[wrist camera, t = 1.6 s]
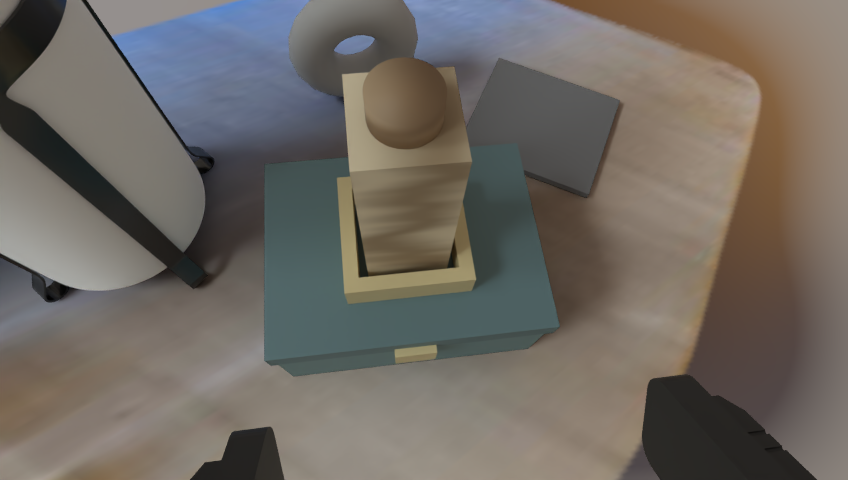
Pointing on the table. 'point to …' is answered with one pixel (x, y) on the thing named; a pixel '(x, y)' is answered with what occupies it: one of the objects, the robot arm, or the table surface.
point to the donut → (343, 18)
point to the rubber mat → (544, 124)
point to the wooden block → (406, 163)
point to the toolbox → (399, 293)
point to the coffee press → (88, 158)
